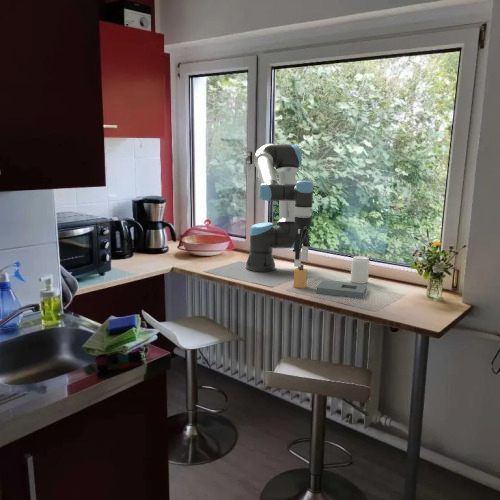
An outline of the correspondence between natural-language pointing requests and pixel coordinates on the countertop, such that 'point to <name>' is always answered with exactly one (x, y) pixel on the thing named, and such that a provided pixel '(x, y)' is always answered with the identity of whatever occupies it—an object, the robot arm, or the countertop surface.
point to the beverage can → (359, 269)
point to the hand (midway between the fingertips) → (301, 263)
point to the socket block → (341, 288)
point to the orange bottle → (300, 277)
